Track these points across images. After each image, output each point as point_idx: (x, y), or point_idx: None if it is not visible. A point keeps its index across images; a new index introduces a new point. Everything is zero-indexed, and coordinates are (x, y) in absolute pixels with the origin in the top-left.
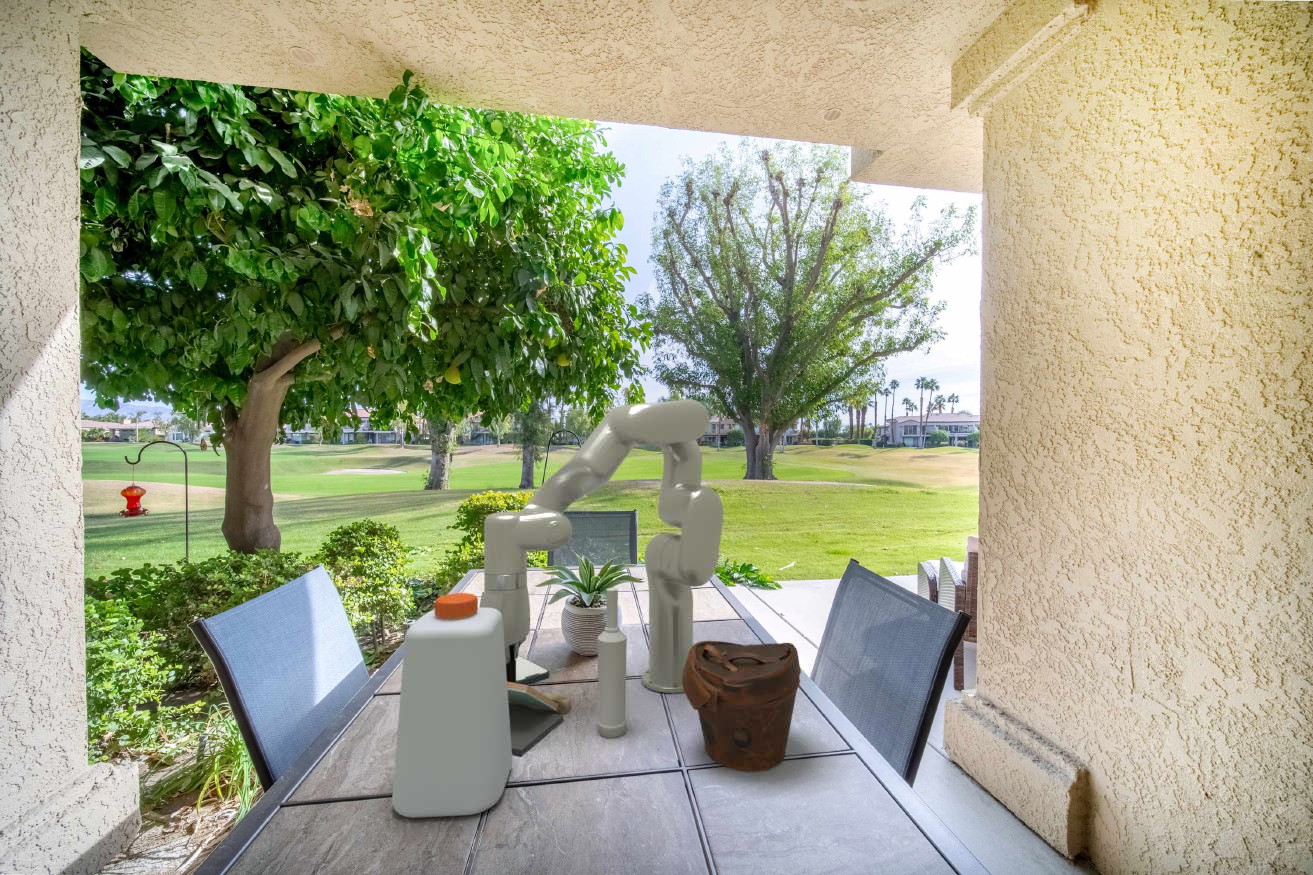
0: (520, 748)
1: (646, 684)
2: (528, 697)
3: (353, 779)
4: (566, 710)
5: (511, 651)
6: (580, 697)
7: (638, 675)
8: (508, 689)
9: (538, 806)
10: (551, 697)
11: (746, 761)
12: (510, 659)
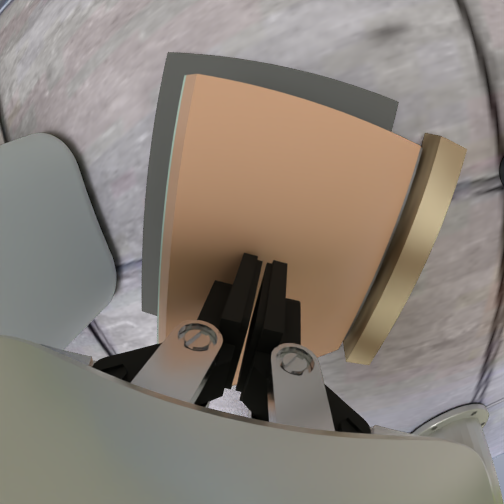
0: (146, 308)
1: (435, 421)
2: None
3: (23, 48)
4: (345, 347)
5: (267, 420)
6: (425, 343)
7: (484, 393)
8: (157, 336)
9: (70, 347)
10: (378, 324)
11: None
12: (244, 388)
